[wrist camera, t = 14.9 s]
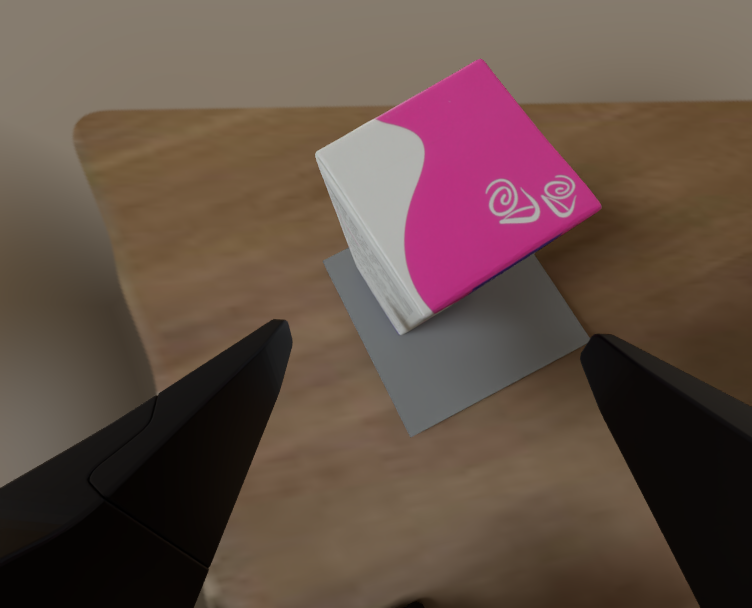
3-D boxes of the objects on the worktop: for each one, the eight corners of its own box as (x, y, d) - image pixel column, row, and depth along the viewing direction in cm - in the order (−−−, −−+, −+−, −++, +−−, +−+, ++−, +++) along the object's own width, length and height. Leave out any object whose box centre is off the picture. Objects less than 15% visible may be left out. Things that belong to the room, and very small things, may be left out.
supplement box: (401, 340, 18) (418, 324, 6) (355, 266, 19) (301, 143, 7) (474, 294, 18) (616, 201, 7) (425, 224, 19) (476, 41, 8)
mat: (582, 341, 18) (591, 341, 17) (409, 433, 17) (410, 437, 17) (480, 185, 20) (484, 178, 19) (325, 264, 20) (322, 261, 19)
